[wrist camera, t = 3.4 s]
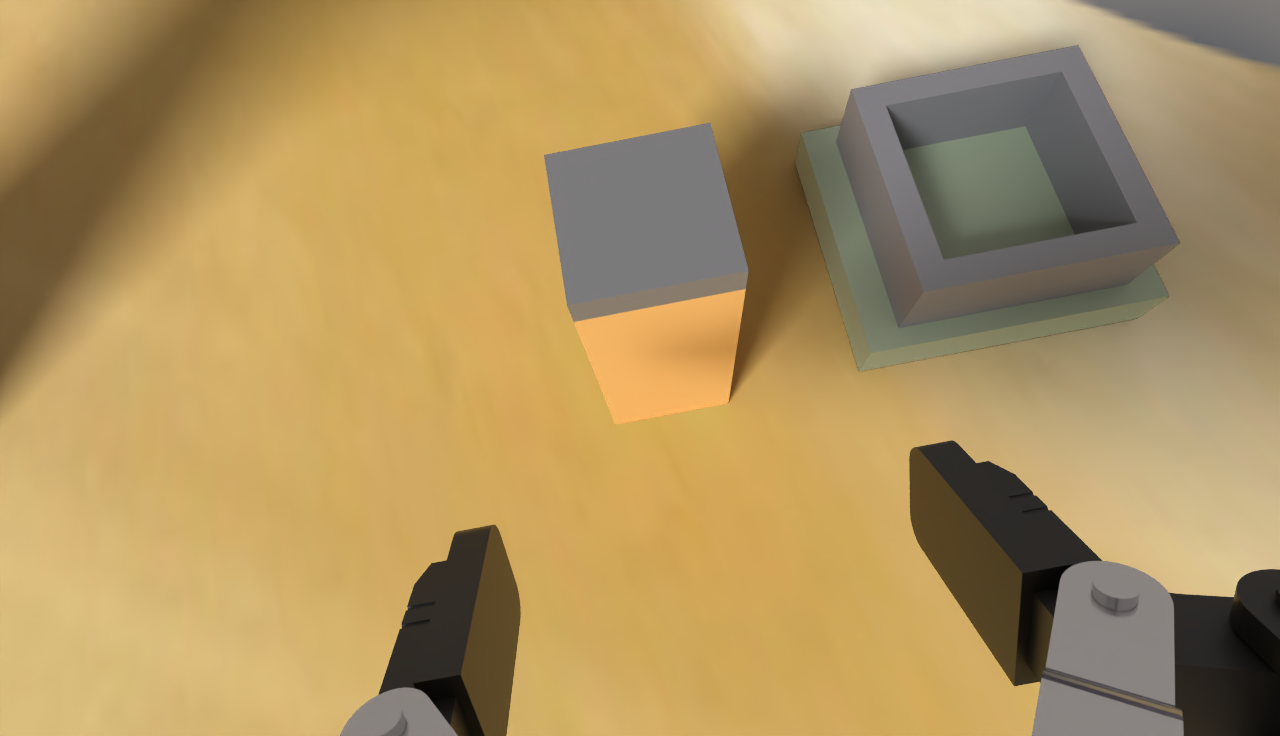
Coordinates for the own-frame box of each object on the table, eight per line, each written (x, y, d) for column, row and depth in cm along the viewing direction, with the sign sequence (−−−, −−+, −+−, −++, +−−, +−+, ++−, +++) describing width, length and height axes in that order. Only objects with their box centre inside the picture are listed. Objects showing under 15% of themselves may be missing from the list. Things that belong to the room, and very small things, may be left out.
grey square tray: (858, 371, 27) (892, 319, 23) (794, 162, 31) (812, 80, 26) (1136, 318, 27) (1228, 255, 22) (1041, 114, 31) (1103, 23, 26)
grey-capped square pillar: (615, 424, 27) (567, 305, 17) (598, 321, 29) (544, 155, 19) (728, 403, 27) (748, 270, 17) (704, 300, 29) (709, 122, 19)
